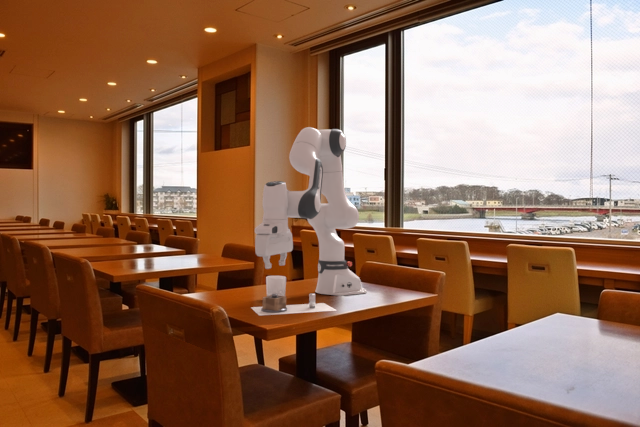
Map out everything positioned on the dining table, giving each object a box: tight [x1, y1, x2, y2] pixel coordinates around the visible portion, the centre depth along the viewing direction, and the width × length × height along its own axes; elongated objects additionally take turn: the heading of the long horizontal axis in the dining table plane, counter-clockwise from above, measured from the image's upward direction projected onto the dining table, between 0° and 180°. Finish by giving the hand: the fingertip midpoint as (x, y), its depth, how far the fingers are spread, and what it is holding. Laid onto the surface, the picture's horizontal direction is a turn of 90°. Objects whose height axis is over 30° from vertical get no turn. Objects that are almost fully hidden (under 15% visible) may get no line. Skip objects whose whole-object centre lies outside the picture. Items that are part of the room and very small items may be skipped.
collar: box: [262, 295, 287, 311], centre depth 180 cm, size 6×6×4 cm
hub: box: [261, 294, 287, 313], centre depth 180 cm, size 9×9×6 cm
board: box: [250, 302, 338, 317], centre depth 183 cm, size 28×14×2 cm, turn 109°
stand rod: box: [308, 293, 316, 308], centre depth 185 cm, size 2×2×5 cm
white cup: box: [265, 275, 287, 296], centre depth 202 cm, size 8×8×10 cm
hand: (275, 267), depth 180 cm, fingers open, 8 cm apart
